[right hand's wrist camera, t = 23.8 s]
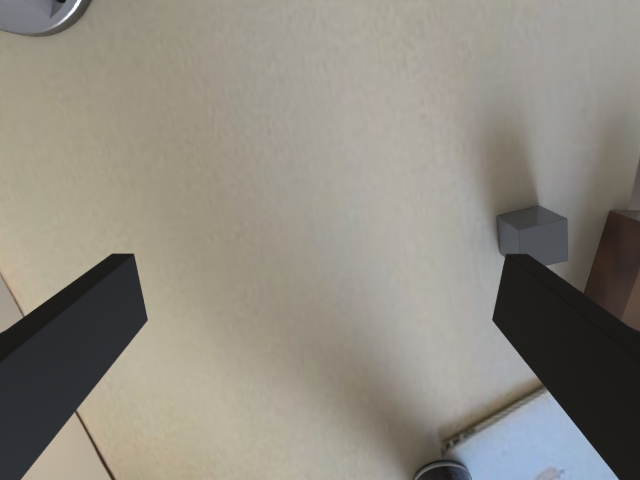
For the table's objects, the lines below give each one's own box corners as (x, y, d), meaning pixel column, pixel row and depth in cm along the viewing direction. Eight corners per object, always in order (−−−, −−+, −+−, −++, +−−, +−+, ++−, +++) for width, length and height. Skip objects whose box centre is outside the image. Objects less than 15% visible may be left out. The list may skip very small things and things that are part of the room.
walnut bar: (609, 210, 41) (655, 227, 36) (643, 210, 41) (694, 227, 36) (559, 372, 50) (589, 406, 44) (587, 372, 50) (620, 406, 44)
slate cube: (496, 215, 42) (518, 230, 37) (539, 205, 41) (567, 218, 37) (499, 253, 43) (521, 271, 39) (541, 243, 43) (568, 260, 38)
